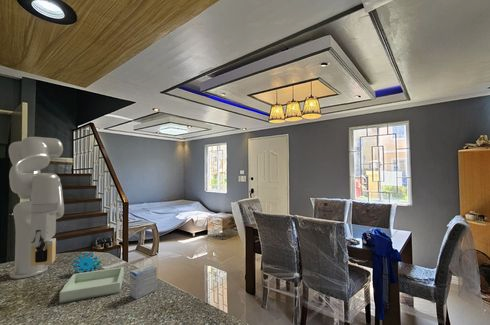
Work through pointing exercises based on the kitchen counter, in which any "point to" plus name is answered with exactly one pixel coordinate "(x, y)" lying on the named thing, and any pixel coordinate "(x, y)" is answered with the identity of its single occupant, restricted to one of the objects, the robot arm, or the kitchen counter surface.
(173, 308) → the kitchen counter surface
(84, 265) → the gear
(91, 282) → the parts tray
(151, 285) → the medicine box
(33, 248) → the tan and white block
